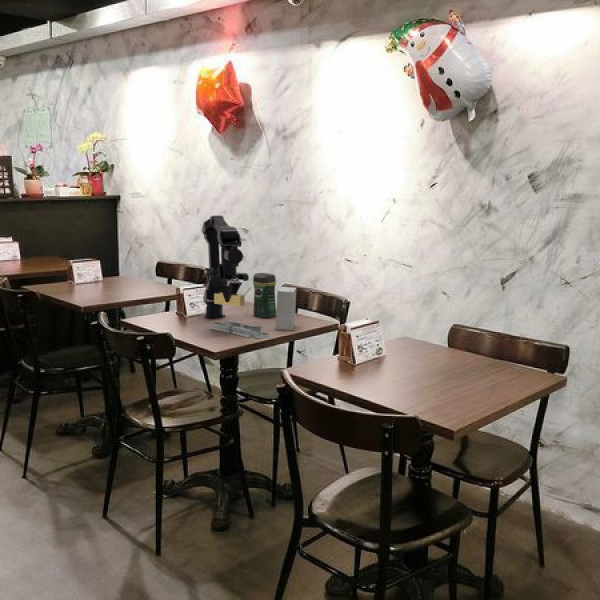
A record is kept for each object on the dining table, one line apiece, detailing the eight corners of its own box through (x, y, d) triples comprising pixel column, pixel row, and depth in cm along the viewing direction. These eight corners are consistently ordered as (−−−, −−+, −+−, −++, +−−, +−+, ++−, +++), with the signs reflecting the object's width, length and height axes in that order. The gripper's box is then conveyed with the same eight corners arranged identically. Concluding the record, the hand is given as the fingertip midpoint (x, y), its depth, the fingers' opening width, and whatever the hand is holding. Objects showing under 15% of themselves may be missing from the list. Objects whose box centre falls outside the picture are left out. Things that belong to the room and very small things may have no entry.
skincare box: (279, 325, 264) (279, 286, 261) (296, 325, 263) (297, 286, 260) (275, 329, 256) (275, 290, 253) (293, 330, 255) (293, 290, 252)
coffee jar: (279, 316, 280) (279, 273, 276) (265, 319, 274) (265, 275, 271) (264, 313, 286) (263, 270, 283) (250, 315, 281) (249, 272, 277)
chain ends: (227, 325, 262) (227, 319, 262) (271, 335, 247) (271, 328, 247) (212, 329, 256) (212, 322, 256) (256, 339, 241) (256, 332, 241)
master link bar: (218, 302, 257) (218, 292, 256) (244, 305, 251) (244, 294, 250) (214, 303, 254) (214, 293, 254) (240, 306, 249) (239, 295, 248)
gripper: (225, 257, 262) (226, 296, 264) (196, 262, 246) (197, 303, 248) (249, 259, 256) (249, 298, 259) (220, 264, 240) (221, 306, 243)
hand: (229, 301), depth 252 cm, fingers closed on master link bar, 3 cm apart
